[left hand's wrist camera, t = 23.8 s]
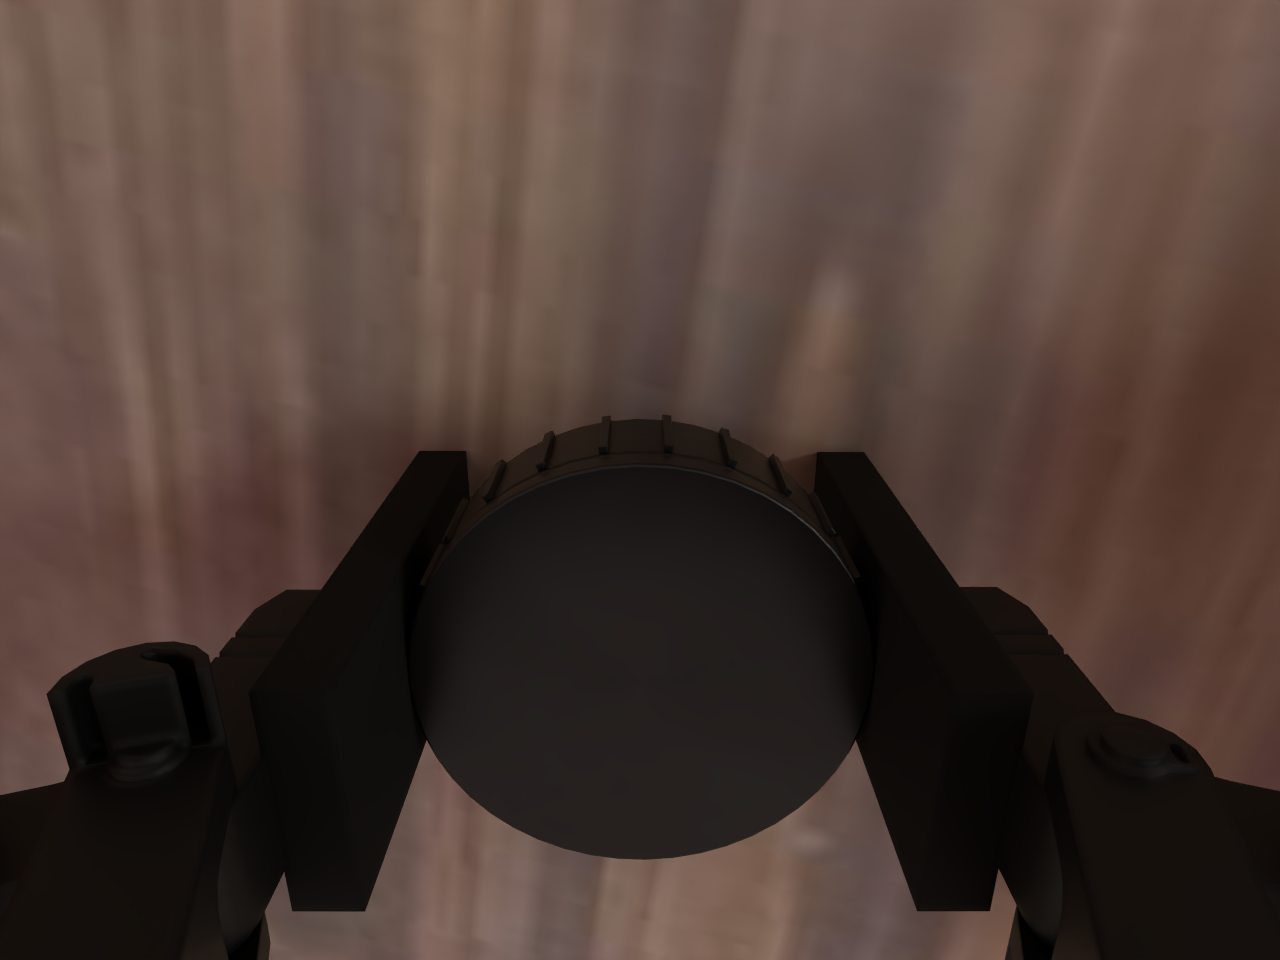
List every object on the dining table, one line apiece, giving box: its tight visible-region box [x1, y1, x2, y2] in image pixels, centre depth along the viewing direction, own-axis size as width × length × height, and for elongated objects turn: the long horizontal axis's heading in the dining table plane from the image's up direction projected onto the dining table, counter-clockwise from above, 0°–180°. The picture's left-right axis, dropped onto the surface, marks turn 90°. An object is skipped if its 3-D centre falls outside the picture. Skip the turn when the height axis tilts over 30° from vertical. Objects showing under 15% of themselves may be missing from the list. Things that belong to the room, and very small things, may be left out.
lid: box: [407, 415, 875, 860], centre depth 11 cm, size 6×6×2 cm
